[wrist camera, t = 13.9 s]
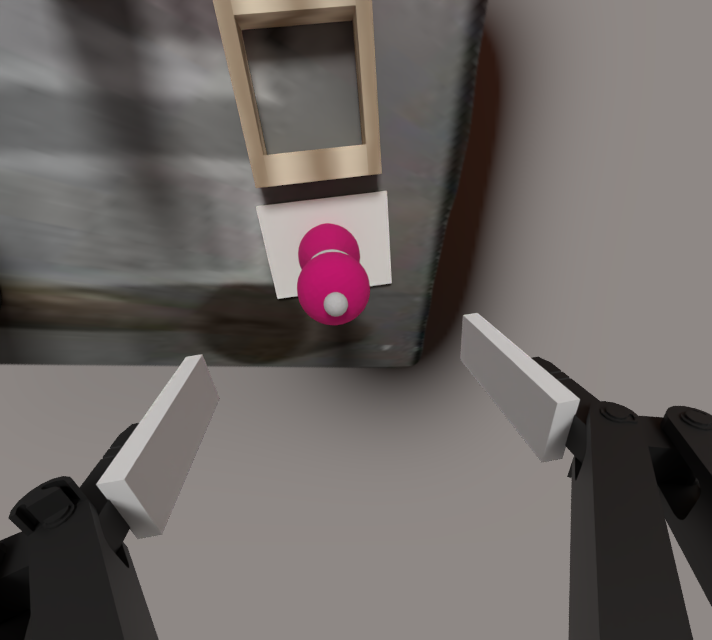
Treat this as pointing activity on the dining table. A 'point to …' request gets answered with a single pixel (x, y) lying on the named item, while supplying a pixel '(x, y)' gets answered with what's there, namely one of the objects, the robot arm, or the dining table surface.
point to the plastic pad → (350, 212)
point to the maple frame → (253, 11)
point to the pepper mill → (331, 275)
